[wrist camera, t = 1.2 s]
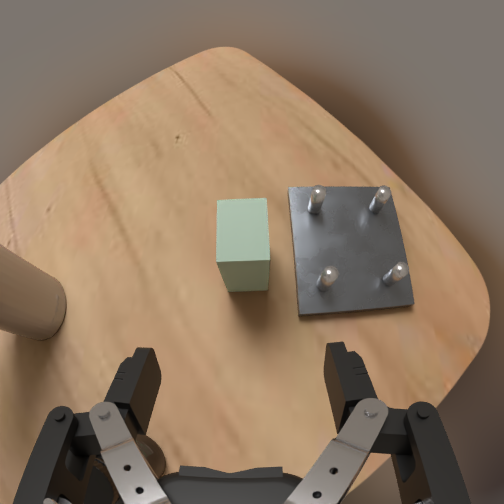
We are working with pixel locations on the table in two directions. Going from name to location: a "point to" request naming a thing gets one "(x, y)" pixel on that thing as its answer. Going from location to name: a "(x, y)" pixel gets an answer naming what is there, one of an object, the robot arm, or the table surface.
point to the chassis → (347, 250)
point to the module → (243, 244)
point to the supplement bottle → (101, 483)
